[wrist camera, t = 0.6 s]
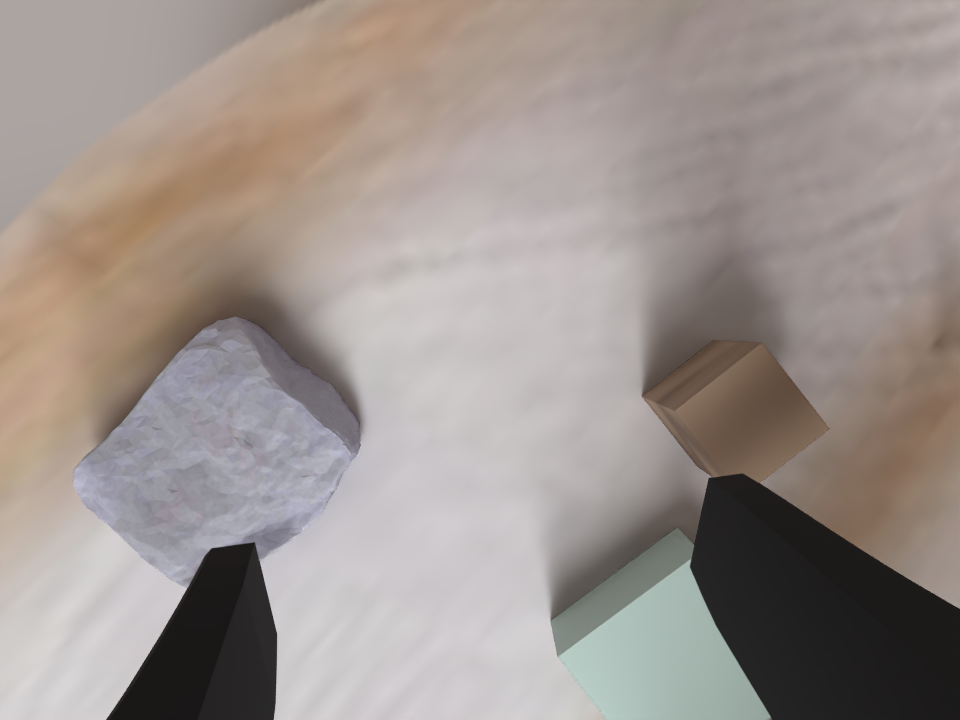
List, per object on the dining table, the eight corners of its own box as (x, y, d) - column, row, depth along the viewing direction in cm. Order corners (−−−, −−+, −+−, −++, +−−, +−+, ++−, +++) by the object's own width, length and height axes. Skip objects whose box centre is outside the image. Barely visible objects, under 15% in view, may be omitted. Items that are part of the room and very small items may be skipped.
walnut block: (768, 410, 33) (829, 428, 27) (697, 466, 33) (741, 496, 27) (713, 340, 33) (762, 342, 27) (641, 396, 33) (674, 410, 27)
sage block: (769, 649, 34) (807, 691, 30) (643, 740, 34) (663, 794, 30) (675, 525, 34) (700, 551, 30) (550, 618, 34) (557, 656, 30)
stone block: (387, 421, 35) (236, 296, 33) (384, 452, 31) (207, 309, 29) (243, 578, 36) (88, 466, 34) (219, 631, 32) (36, 505, 30)
